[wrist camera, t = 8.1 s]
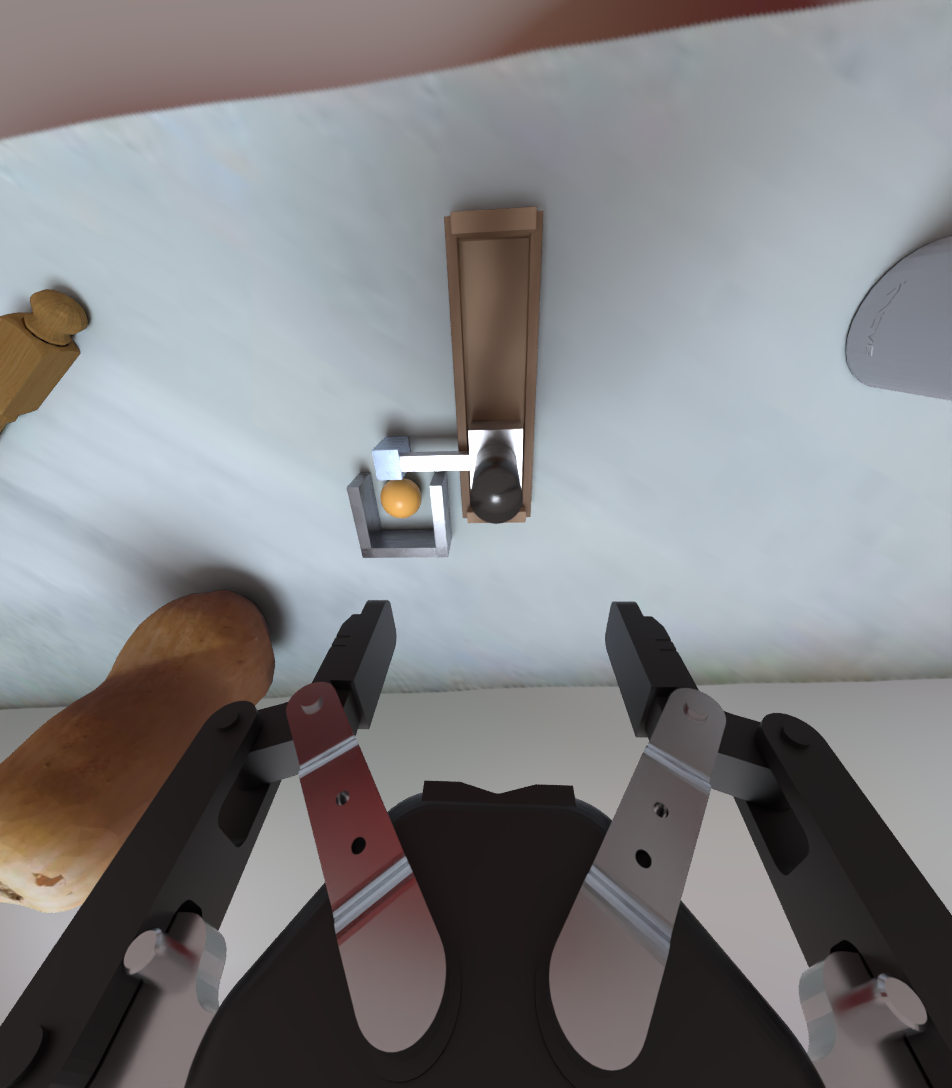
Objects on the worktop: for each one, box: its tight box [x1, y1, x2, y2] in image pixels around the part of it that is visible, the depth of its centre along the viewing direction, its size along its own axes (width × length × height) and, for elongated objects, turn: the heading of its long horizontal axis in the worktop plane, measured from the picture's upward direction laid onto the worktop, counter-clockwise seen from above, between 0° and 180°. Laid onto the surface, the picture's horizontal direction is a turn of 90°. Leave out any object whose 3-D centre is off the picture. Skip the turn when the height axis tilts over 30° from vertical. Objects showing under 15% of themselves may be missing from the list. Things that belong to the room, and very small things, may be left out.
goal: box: [347, 471, 452, 558], centre depth 34 cm, size 8×7×4 cm
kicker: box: [372, 420, 523, 524], centre depth 27 cm, size 12×5×11 cm, turn 92°
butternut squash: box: [0, 590, 275, 913], centre depth 33 cm, size 14×13×25 cm
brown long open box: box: [444, 207, 543, 523], centre depth 28 cm, size 6×20×4 cm, turn 2°
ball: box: [381, 478, 421, 518], centre depth 33 cm, size 4×4×4 cm
